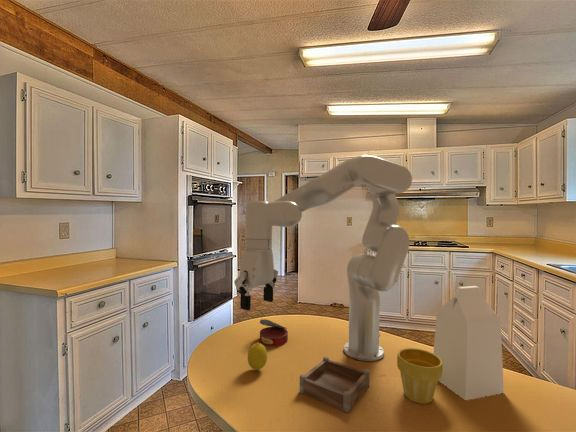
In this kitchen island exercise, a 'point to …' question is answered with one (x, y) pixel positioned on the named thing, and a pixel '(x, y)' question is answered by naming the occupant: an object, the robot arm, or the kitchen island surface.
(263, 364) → the lemon
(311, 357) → the kitchen island surface
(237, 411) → the kitchen island surface
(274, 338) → the canned food
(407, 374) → the plant pot
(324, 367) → the wooden square tray
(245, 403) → the kitchen island surface
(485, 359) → the milk
